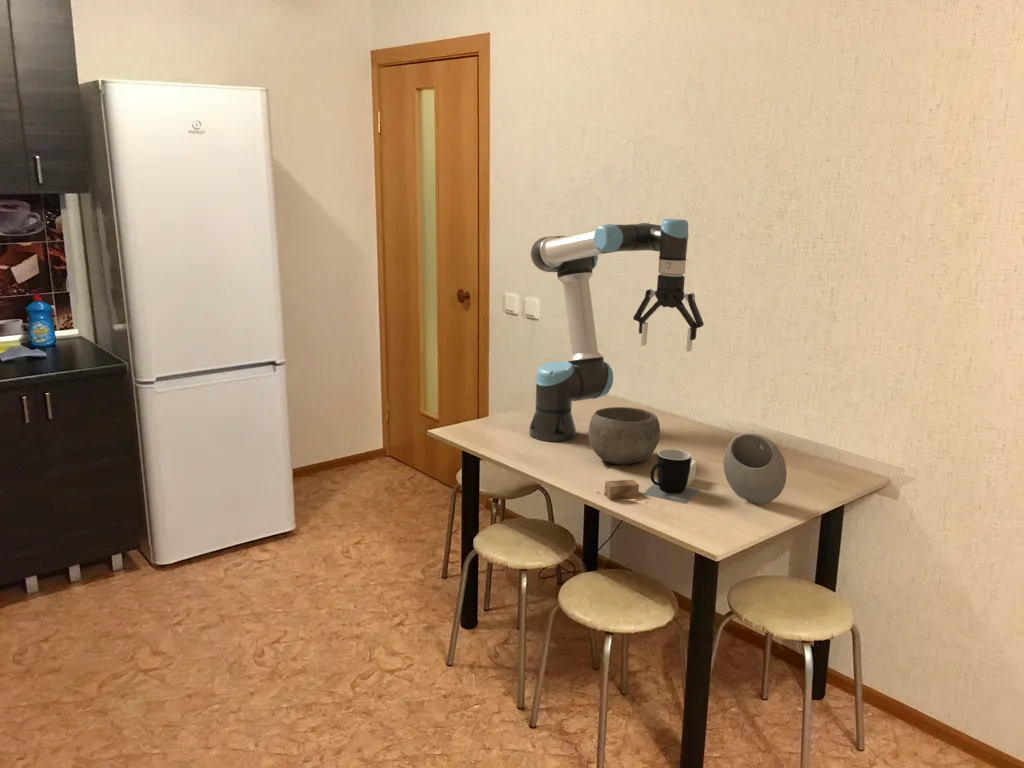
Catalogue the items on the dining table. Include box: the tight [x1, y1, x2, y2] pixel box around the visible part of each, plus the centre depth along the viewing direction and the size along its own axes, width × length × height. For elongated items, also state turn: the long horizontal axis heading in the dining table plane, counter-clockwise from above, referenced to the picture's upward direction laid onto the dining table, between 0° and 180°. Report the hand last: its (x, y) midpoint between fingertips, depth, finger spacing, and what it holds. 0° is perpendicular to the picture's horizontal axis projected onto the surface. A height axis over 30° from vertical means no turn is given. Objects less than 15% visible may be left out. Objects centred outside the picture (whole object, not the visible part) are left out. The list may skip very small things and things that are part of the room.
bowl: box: [587, 406, 661, 466], centre depth 252 cm, size 21×21×15 cm
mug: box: [649, 448, 692, 494], centre depth 228 cm, size 12×9×10 cm
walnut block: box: [604, 479, 640, 501], centre depth 226 cm, size 8×4×4 cm, turn 104°
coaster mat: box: [642, 480, 700, 504], centre depth 229 cm, size 12×12×1 cm
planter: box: [723, 432, 788, 504], centre depth 223 cm, size 18×7×19 cm, turn 42°
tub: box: [686, 459, 697, 487], centre depth 237 cm, size 7×7×6 cm
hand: (666, 347), depth 246 cm, fingers open, 13 cm apart
